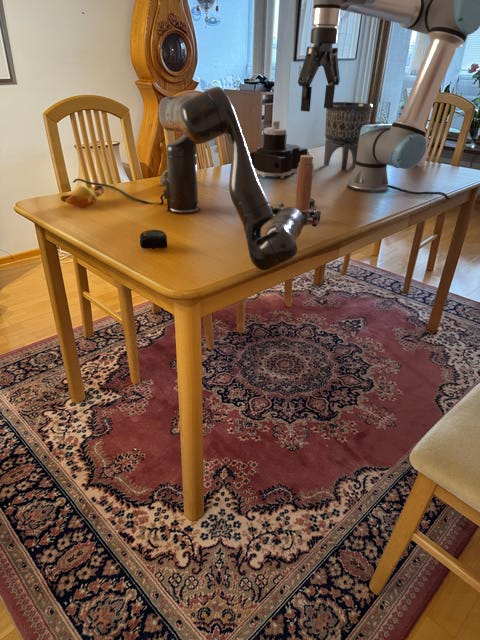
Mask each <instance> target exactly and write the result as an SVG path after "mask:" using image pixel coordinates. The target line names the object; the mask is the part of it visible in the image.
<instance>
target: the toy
mask: <svg viewBox="0 0 480 640" xmlns="http://www.w3.org/2000/svg"><path fill="white" fill-rule="evenodd" d="M104 192H105V188H104V186H101V185H95V186H94V189H92V188H90V187H87V186H85V185H79V186H78V187H77V188H76V189H74V191H73V192H71V193H70V194H67V195H61V196H60V201H61V202H63V203H66V204H68V205H72V206H73V205H74V206H77V207H82V208H85V207H90V206H93V205H95V204H96V203H97V202H98V198H99V197H100V196H102V195H103V194H104Z"/></svg>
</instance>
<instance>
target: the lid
mask: <svg viewBox="0 0 480 640" xmlns="http://www.w3.org/2000/svg"><path fill="white" fill-rule="evenodd" d="M315 204H316V199H315V198H312V197H310V207H309V209H310V208H311V206H312V207H314V208H315V206H316V205H315Z"/></svg>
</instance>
